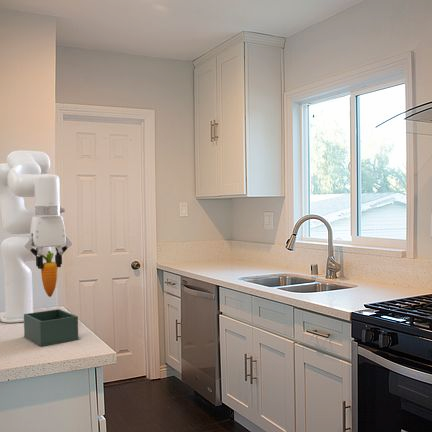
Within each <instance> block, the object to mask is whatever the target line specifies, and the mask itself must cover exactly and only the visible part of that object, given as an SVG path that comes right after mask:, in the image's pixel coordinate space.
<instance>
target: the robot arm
mask: <svg viewBox="0 0 432 432" xmlns="http://www.w3.org/2000/svg"><path fill="white" fill-rule="evenodd" d="M50 170H51V159H50V157H49V155H48V153H46V152H45V151H42V150H24V149H23V150H22V149H19V150H13V151H11V152H10V153H9V154H8V155H7V157H6V162H2V163H0V218H1V226H2V229H3V232H5V233H6V234H9V235H18V236H11V237H7V238H5V239H3V240H2V241H1V243H0V254H1V259H2V264H3V265H2V266H3V283H4V284H3V285H4V316H1V317H0V322H2V323H9V324H10V323H11V324H15V323H24V314H28V313H34V297H33V293H34V291H33V273H32V269H31V268H30V267H29V266H28V265H27V264H26V263H25V262H32V261H33V262H34V261H35V266H36V267H37V269H38V270H41V269H42V268H43V263H44V261H45V259H44V258H43V257H42V256H41V255H44V256H45V257H47V253H48V251H51V252H52V248H53V247H54V250H55V252H56V253H55V255H54V262H55V263H56V264H57V268H61V266H62V264H63V255H64V253H66V251H67V250H68V249H69V248H70V247H71V246H72V245H73V243H72V241H71V240H70V239H69V238H68V237H67V234H66V227H65V222H64V217H63V215H62V213H65V212H66V211H65V210H66V209H65V208H64V207H62V206H61V186H60V185H61V184H60V183H61V182H60V176H59V175H57V174H54V173H49V171H50ZM25 198H34V208H30V209H29V208H26V206H25ZM27 234H29V235H27ZM19 235H20V236H19ZM21 235H22V236H21ZM23 235H24V236H23Z"/></svg>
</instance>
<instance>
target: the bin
mask: <svg viewBox="0 0 432 432" xmlns="http://www.w3.org/2000/svg"><path fill="white" fill-rule="evenodd" d="M23 331H24V334H23V336H24V338H25V339H27V340H29V341H31V342H33V343H34V344H35V345H38V346H39V347H45V346H51V345H57V344H61V343H68V342H73V341H78V340H79V316H77V315H76V314H74V313H70V312H68V311H66V310H63V309H61V308H56V309H50V310H49V309H48V310H44V311H36V312H33V313H28V314H24V322H23Z"/></svg>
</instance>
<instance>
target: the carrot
mask: <svg viewBox="0 0 432 432" xmlns="http://www.w3.org/2000/svg"><path fill="white" fill-rule="evenodd" d="M41 256H42V257H43V258H44V261H46V262H43V268H42V269H40V270H41V271H40V274H41V283H42V286H43V289H44V292H45V293H46V295H47V296H48V297H49V298H51V297H52V296H53V295H54V292H55V290H56V287H57V282H58V267H57V264H56V263H55V261H52V260H53V257H54V256H55V255H54V253H53V252H52V250H51V251H48V253H47V257H45V256H44V255H41Z"/></svg>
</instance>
